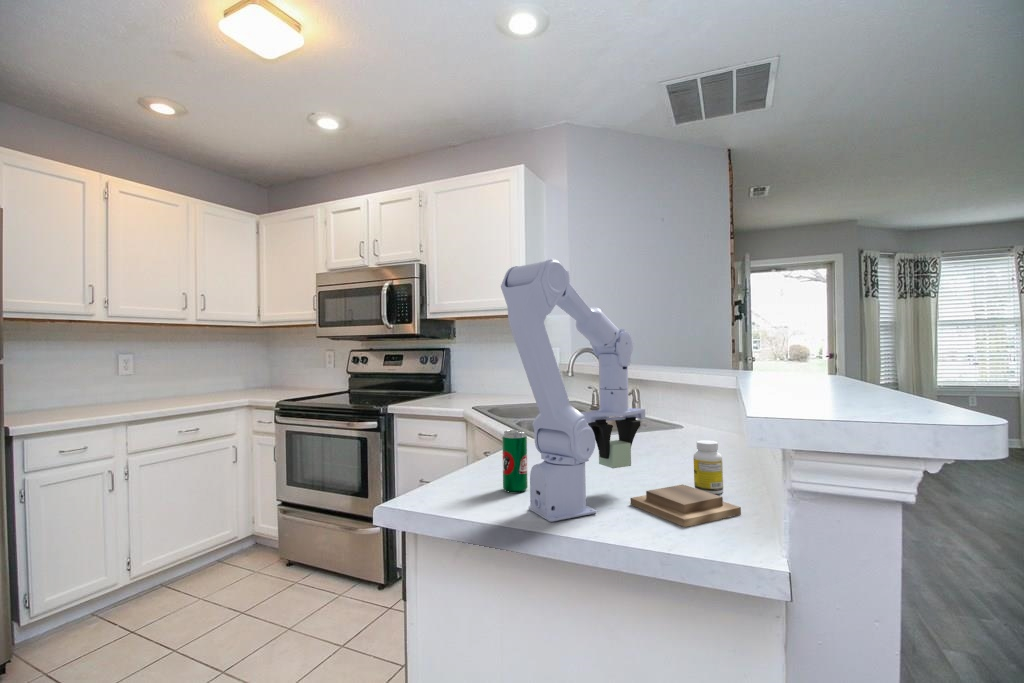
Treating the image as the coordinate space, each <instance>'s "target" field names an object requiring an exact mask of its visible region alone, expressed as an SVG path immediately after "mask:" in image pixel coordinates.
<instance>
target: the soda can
mask: <svg viewBox="0 0 1024 683" xmlns="http://www.w3.org/2000/svg"><path fill="white" fill-rule="evenodd" d="M503 432H504V434H503V435H502V441H501V442H502V488H503V490H504V491H505V490H506V491H505V492H507V491H509V492H508V493H510V492H520V493H523V492H525V491H526V490H527V489H528V488H529V487H528V486H529V485H528V436H527V434H526V431H525V430H522V429H521V430H520V429H510V430H509V429H508V430H504V431H503ZM522 491H523V492H522Z"/></svg>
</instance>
